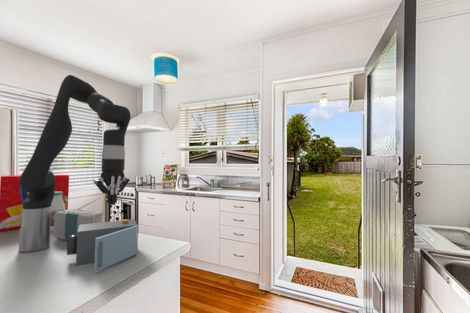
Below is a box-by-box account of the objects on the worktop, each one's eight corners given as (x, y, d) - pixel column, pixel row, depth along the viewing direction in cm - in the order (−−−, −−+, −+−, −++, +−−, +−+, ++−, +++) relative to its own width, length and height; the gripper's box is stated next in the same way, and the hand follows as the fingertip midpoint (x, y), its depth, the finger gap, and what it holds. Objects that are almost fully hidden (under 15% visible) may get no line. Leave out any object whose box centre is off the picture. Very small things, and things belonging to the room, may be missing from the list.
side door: (97, 272, 74) (99, 239, 74) (93, 271, 75) (95, 238, 75) (139, 253, 90) (140, 225, 90) (135, 252, 90) (136, 225, 91)
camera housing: (65, 267, 79) (67, 230, 79) (69, 256, 87) (70, 223, 88) (136, 254, 91) (137, 222, 91) (133, 246, 99) (134, 216, 100)
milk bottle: (48, 228, 121) (50, 191, 121) (66, 226, 124) (67, 190, 125) (43, 232, 114) (45, 193, 114) (62, 230, 117) (64, 192, 118)
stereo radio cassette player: (52, 240, 104) (54, 197, 104) (69, 234, 112) (70, 194, 112) (88, 245, 99) (90, 200, 100) (103, 239, 107) (105, 197, 108)
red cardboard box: (-3, 232, 112) (0, 176, 113) (-1, 228, 118) (1, 175, 119) (67, 223, 132) (69, 175, 132) (65, 220, 137) (67, 174, 138)
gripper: (101, 157, 76) (99, 208, 76) (135, 158, 88) (134, 202, 87) (89, 157, 80) (87, 206, 79) (123, 158, 91) (121, 200, 91)
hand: (111, 204), depth 83 cm, fingers closed
